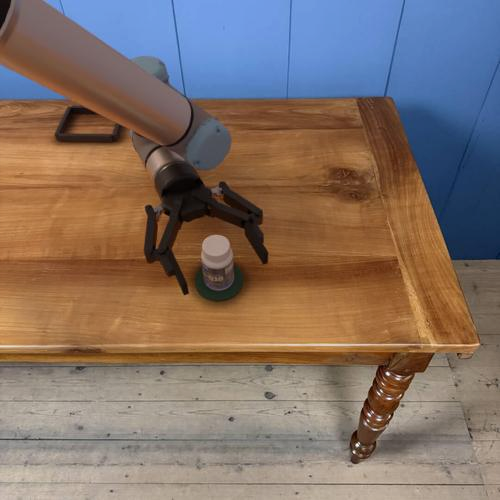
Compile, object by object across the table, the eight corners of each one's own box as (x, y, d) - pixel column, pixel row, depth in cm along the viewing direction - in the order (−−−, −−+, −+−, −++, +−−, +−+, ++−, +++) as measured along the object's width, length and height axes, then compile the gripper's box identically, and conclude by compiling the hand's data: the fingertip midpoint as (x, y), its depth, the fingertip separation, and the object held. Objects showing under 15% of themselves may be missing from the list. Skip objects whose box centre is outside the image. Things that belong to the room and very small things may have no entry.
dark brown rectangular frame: (56, 141, 94) (53, 135, 93) (70, 111, 101) (68, 105, 100) (117, 142, 94) (115, 136, 93) (127, 112, 101) (125, 105, 99)
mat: (185, 283, 72) (184, 281, 71) (217, 254, 75) (217, 252, 75) (221, 310, 69) (220, 308, 68) (253, 278, 72) (253, 276, 72)
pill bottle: (198, 284, 71) (192, 250, 64) (213, 262, 74) (209, 228, 67) (225, 295, 70) (222, 262, 63) (239, 273, 72) (238, 239, 66)
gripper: (240, 175, 83) (298, 260, 71) (110, 216, 77) (149, 318, 65) (239, 141, 77) (303, 228, 65) (98, 183, 71) (139, 288, 59)
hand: (226, 273), depth 65 cm, fingers open, 12 cm apart
